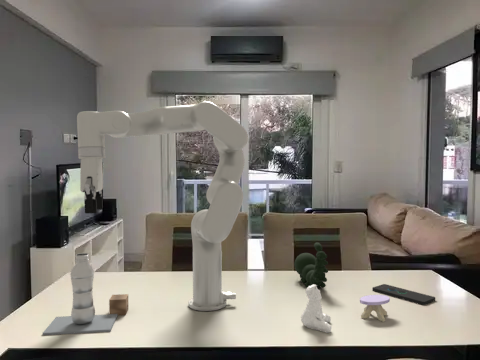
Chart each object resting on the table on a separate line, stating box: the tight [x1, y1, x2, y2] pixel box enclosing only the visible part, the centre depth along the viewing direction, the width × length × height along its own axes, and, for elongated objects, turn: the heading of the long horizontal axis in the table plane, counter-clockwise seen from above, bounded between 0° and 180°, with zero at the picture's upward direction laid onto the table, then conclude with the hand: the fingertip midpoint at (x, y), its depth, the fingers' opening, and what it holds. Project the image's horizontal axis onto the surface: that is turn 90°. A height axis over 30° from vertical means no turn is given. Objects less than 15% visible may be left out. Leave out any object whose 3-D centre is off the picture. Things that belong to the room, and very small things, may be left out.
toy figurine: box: [293, 242, 329, 289], centre depth 159 cm, size 9×19×25 cm
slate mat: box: [42, 313, 119, 336], centre depth 119 cm, size 18×12×1 cm, turn 98°
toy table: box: [359, 294, 390, 322], centre depth 125 cm, size 10×9×6 cm
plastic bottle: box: [69, 252, 96, 324], centre depth 119 cm, size 6×7×20 cm
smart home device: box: [372, 283, 436, 306], centre depth 145 cm, size 8×2×20 cm
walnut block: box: [108, 293, 129, 316], centre depth 129 cm, size 5×5×5 cm
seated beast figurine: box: [300, 284, 332, 334], centre depth 118 cm, size 10×9×12 cm
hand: (94, 211), depth 122 cm, fingers open, 9 cm apart
